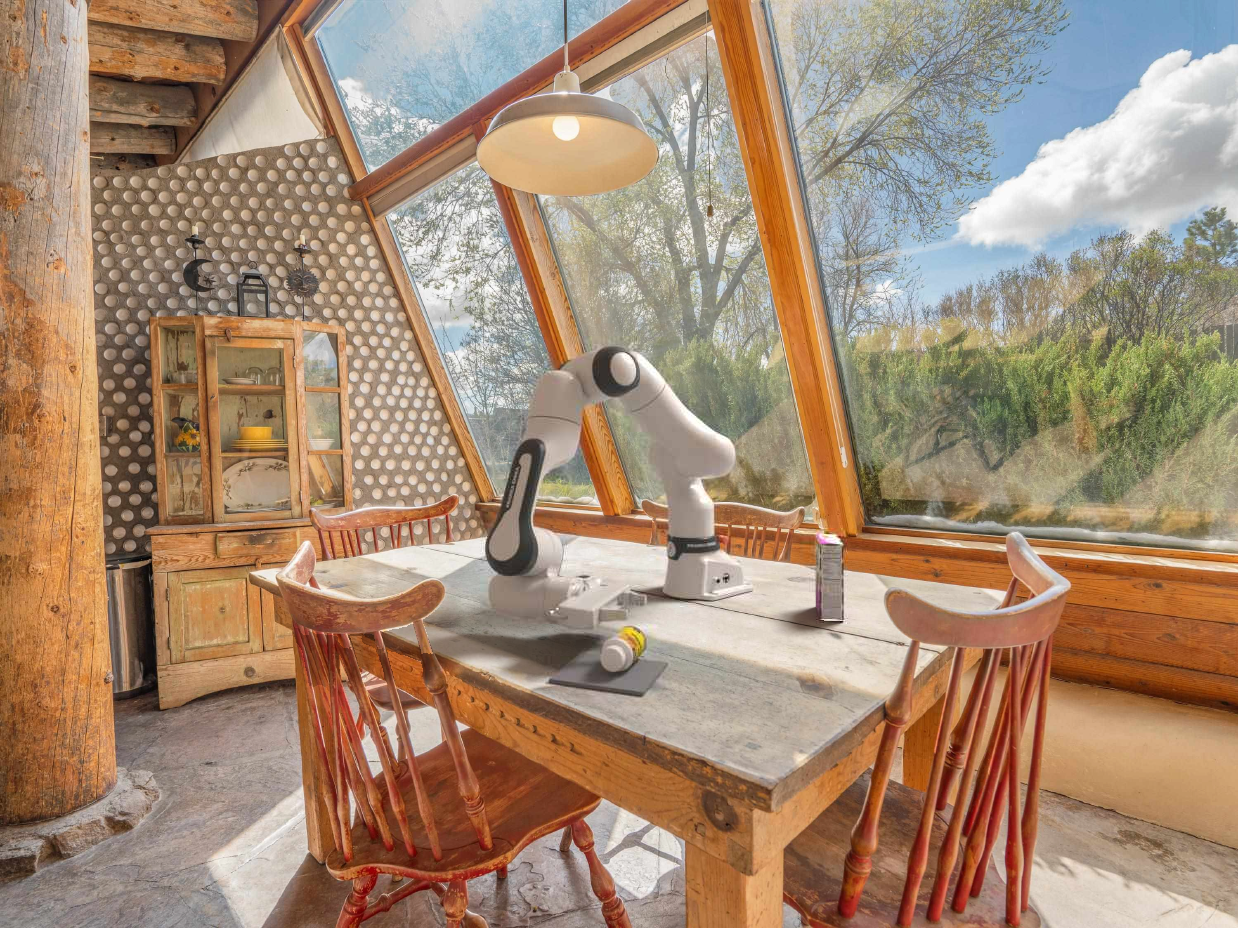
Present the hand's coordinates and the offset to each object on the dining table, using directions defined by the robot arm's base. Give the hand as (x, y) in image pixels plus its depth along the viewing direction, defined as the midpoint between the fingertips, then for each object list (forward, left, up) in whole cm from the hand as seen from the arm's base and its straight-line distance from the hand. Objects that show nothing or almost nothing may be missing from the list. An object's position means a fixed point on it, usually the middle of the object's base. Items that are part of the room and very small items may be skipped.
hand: (637, 607), depth 118 cm
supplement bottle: (+3, +3, -5) cm, 6 cm away
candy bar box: (-46, +1, -8) cm, 47 cm away
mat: (+9, +7, -8) cm, 14 cm away
